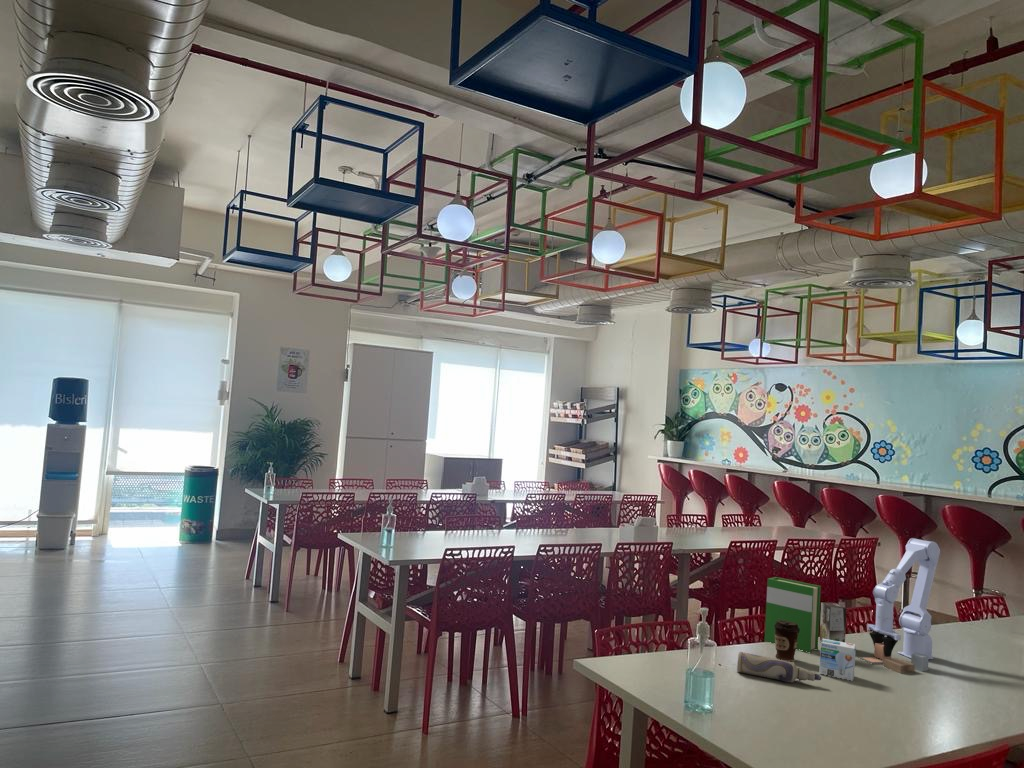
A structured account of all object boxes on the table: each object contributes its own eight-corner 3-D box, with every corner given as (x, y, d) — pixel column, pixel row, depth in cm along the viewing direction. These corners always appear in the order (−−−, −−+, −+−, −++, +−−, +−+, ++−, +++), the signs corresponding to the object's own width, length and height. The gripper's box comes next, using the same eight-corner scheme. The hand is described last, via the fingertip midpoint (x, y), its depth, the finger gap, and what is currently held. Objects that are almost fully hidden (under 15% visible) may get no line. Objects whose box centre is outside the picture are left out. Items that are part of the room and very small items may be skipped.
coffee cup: (785, 663, 254) (787, 626, 255) (767, 656, 262) (769, 619, 262) (802, 661, 258) (804, 624, 259) (784, 654, 266) (786, 618, 266)
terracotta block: (883, 656, 273) (883, 643, 273) (891, 660, 269) (891, 646, 269) (874, 656, 272) (874, 643, 272) (882, 660, 268) (882, 646, 268)
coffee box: (845, 651, 277) (847, 608, 278) (828, 649, 277) (830, 606, 278) (835, 644, 286) (837, 602, 287) (818, 642, 286) (820, 601, 287)
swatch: (873, 657, 270) (873, 656, 270) (888, 664, 263) (888, 662, 263) (858, 658, 268) (858, 656, 268) (871, 664, 262) (872, 662, 262)
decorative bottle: (735, 674, 238) (736, 654, 239) (738, 669, 245) (739, 648, 246) (820, 691, 228) (821, 669, 228) (820, 684, 235) (821, 663, 235)
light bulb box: (818, 674, 245) (820, 642, 246) (820, 669, 251) (821, 637, 252) (853, 681, 240) (855, 648, 241) (854, 676, 246) (856, 644, 247)
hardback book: (817, 650, 275) (820, 586, 277) (809, 653, 270) (812, 588, 272) (772, 638, 288) (775, 577, 289) (764, 641, 282) (767, 578, 284)
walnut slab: (896, 666, 262) (897, 658, 263) (914, 673, 256) (914, 664, 256) (883, 667, 260) (883, 659, 260) (900, 674, 253) (900, 665, 254)
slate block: (916, 666, 263) (917, 652, 263) (927, 670, 260) (928, 656, 260) (910, 668, 261) (911, 654, 261) (922, 671, 257) (922, 657, 258)
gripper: (861, 612, 277) (859, 648, 277) (890, 622, 263) (888, 660, 263) (876, 612, 279) (875, 648, 278) (906, 622, 265) (904, 660, 264)
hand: (882, 654), depth 271 cm, fingers closed on terracotta block, 4 cm apart
